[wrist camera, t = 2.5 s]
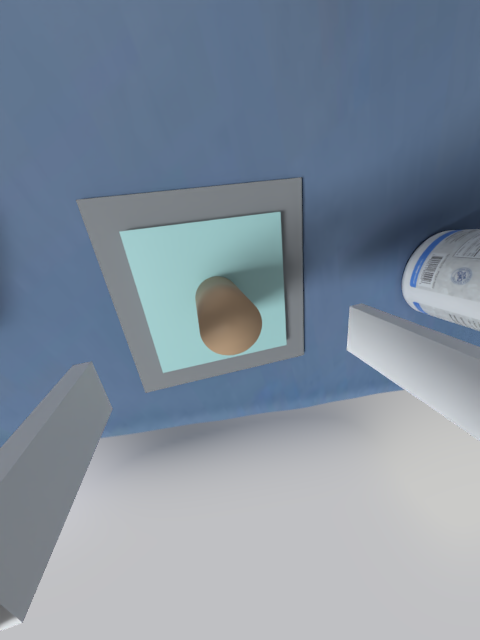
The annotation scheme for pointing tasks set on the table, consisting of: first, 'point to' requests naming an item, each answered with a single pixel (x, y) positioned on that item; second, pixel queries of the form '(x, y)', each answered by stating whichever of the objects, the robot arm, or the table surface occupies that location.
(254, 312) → the lid
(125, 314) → the mat
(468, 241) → the supplement tub
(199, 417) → the table surface
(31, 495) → the robot arm
